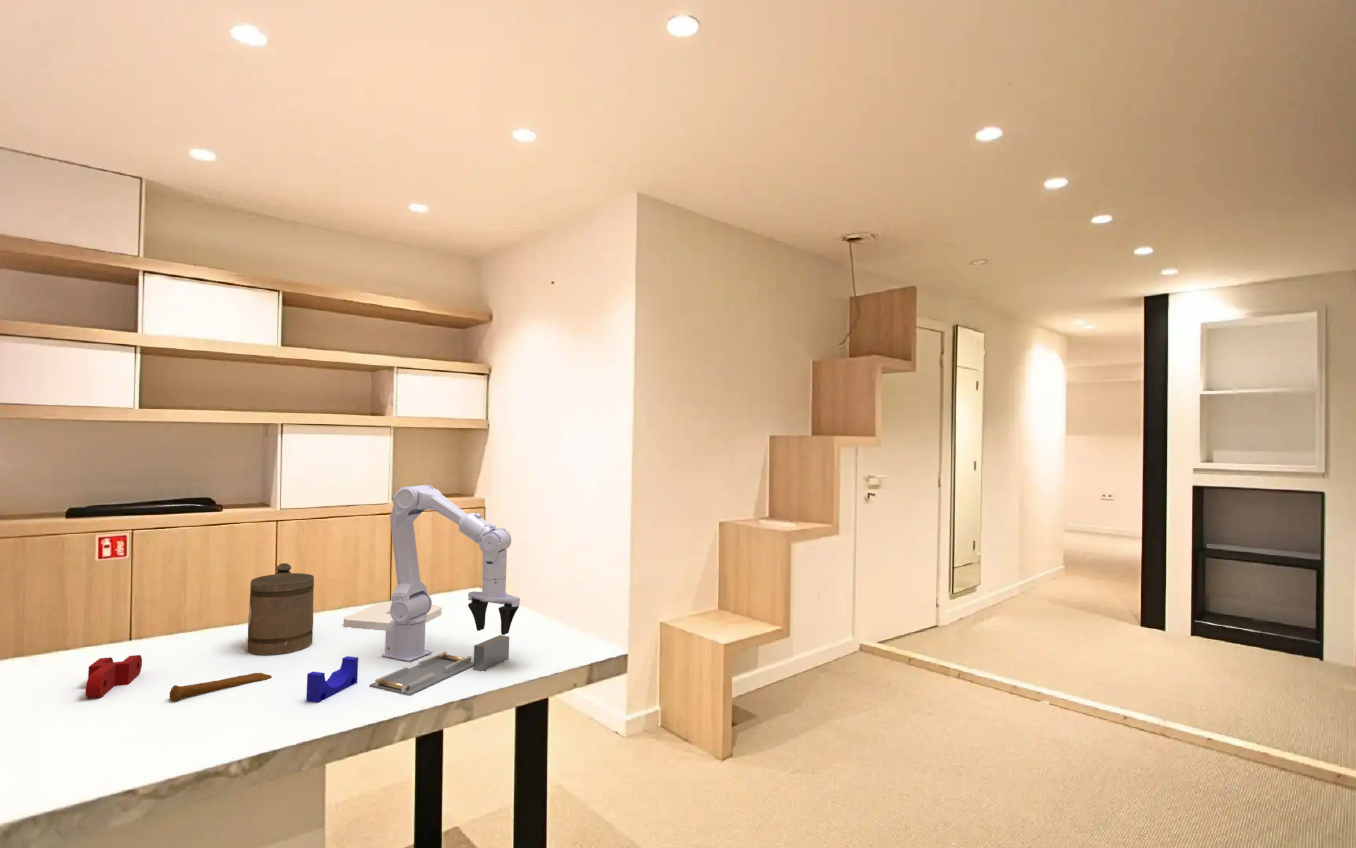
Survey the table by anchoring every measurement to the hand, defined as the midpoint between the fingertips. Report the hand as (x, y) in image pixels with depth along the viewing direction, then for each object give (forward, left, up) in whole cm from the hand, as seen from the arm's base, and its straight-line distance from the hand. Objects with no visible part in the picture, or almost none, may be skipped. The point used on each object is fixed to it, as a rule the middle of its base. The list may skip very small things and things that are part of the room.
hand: (492, 631), depth 165 cm
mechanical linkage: (-65, -49, -9) cm, 82 cm away
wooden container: (-58, -14, -8) cm, 60 cm away
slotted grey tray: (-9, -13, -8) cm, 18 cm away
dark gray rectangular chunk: (0, 0, -8) cm, 8 cm away
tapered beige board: (-52, +19, -9) cm, 56 cm away
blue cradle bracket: (-20, -30, -9) cm, 37 cm away
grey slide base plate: (-9, -13, -8) cm, 18 cm away
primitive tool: (-43, -38, -9) cm, 59 cm away
